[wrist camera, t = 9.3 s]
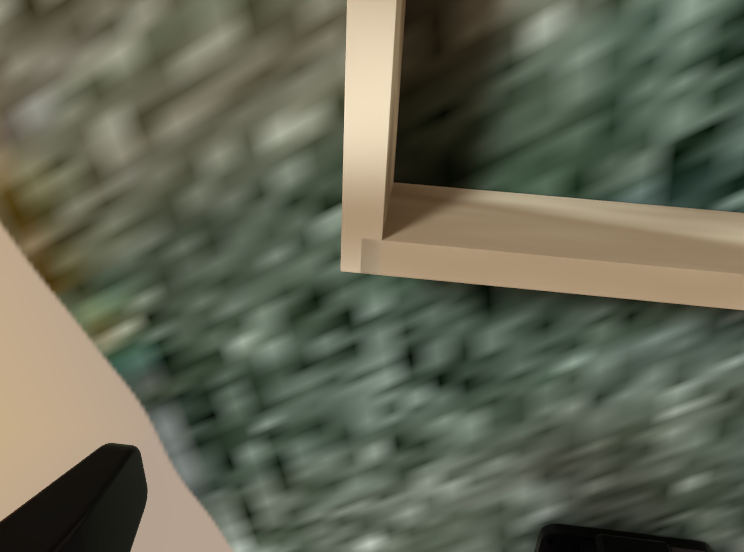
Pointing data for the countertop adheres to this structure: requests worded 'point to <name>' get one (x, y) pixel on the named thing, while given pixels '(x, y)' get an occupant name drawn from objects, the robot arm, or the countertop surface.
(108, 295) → the countertop surface
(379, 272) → the bracket
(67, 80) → the countertop surface
